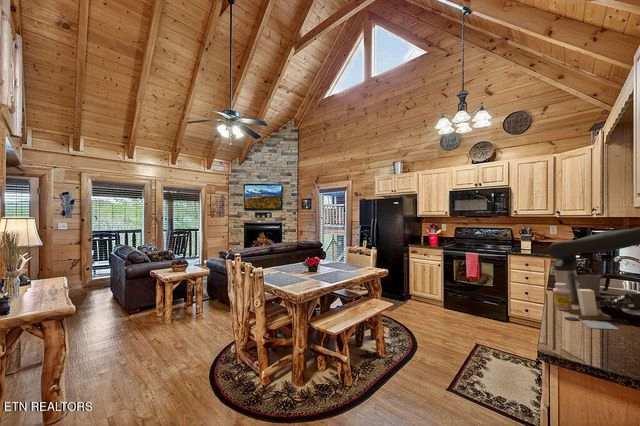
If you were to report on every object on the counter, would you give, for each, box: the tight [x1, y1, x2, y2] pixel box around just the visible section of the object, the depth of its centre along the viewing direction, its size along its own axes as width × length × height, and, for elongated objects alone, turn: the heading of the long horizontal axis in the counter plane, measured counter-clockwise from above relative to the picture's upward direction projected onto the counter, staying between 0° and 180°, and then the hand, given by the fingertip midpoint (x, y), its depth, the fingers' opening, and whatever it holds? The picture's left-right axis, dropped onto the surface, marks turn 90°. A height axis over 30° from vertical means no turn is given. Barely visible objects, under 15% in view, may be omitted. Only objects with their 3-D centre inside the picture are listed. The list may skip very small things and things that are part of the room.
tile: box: [579, 320, 620, 331], centre depth 116 cm, size 9×9×1 cm
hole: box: [564, 316, 580, 322], centre depth 126 cm, size 5×5×1 cm
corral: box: [568, 308, 612, 321], centre depth 128 cm, size 11×11×2 cm
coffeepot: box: [573, 270, 611, 308], centre depth 144 cm, size 15×9×18 cm, turn 70°
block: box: [577, 288, 599, 316], centre depth 129 cm, size 4×4×12 cm
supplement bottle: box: [552, 282, 573, 311], centre depth 141 cm, size 7×7×13 cm
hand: (595, 300), depth 127 cm, fingers open, 8 cm apart
